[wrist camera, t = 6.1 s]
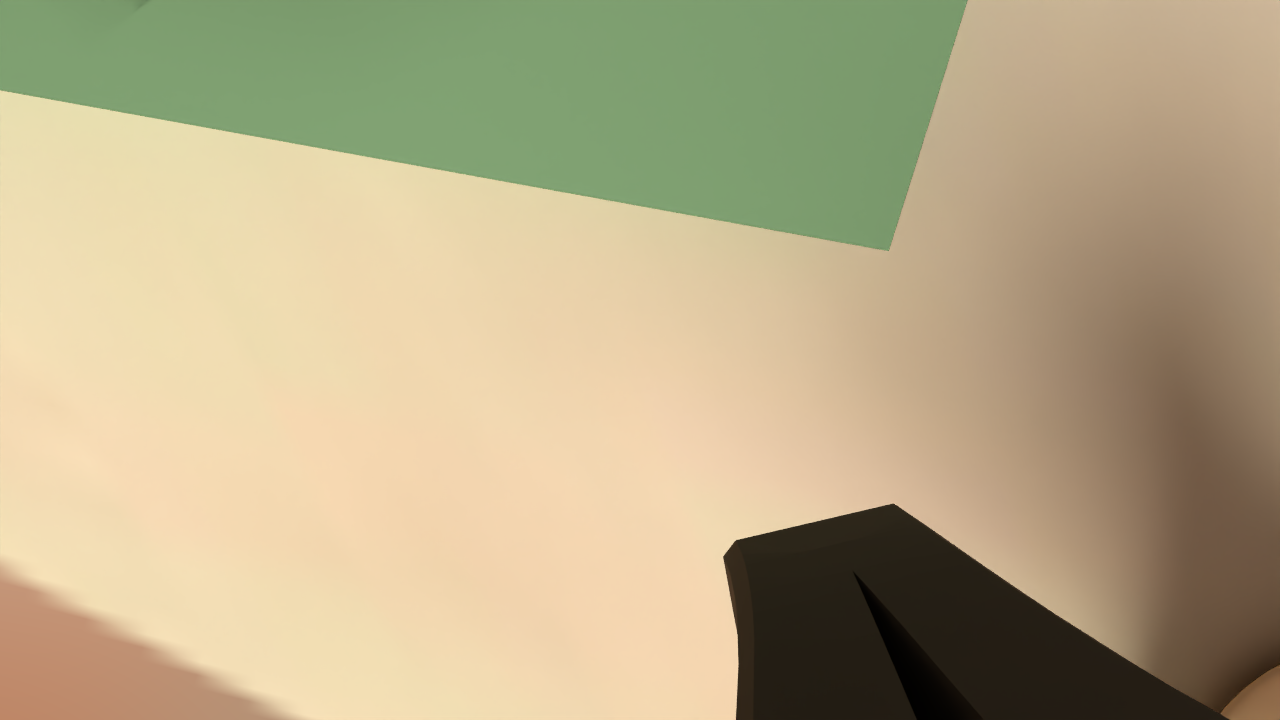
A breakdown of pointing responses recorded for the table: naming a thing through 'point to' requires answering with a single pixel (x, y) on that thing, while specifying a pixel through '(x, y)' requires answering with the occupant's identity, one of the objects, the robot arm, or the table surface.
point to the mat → (538, 91)
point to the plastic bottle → (1257, 699)
